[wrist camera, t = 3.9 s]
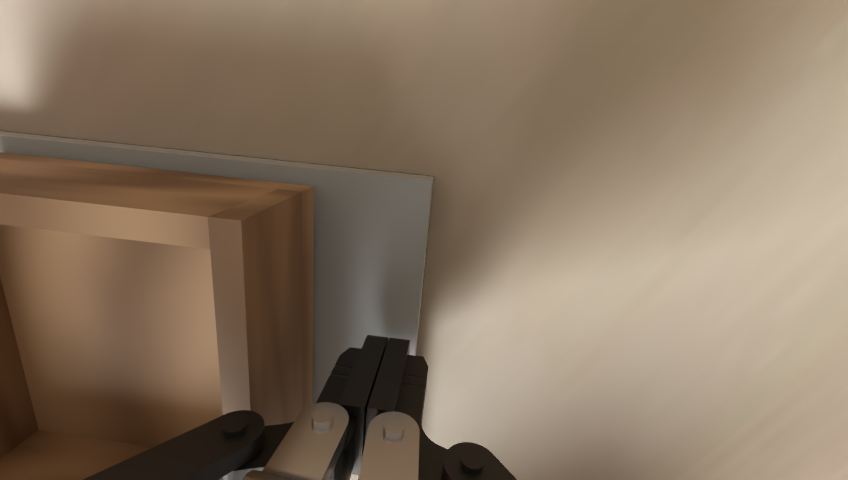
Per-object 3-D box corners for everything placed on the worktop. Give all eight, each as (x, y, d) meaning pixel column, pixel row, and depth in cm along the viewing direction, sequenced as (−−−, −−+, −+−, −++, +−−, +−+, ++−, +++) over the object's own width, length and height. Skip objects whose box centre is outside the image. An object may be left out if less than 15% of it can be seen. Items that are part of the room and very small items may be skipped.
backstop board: (433, 176, 14) (419, 208, 9) (405, 458, 18) (385, 584, 13) (-119, 118, 15) (-387, 120, 10) (-34, 393, 19) (-201, 487, 14)
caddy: (314, 185, 13) (241, 220, 9) (312, 463, 16) (259, 586, 12) (-17, 150, 14) (-237, 166, 9) (49, 423, 17) (-89, 527, 13)
